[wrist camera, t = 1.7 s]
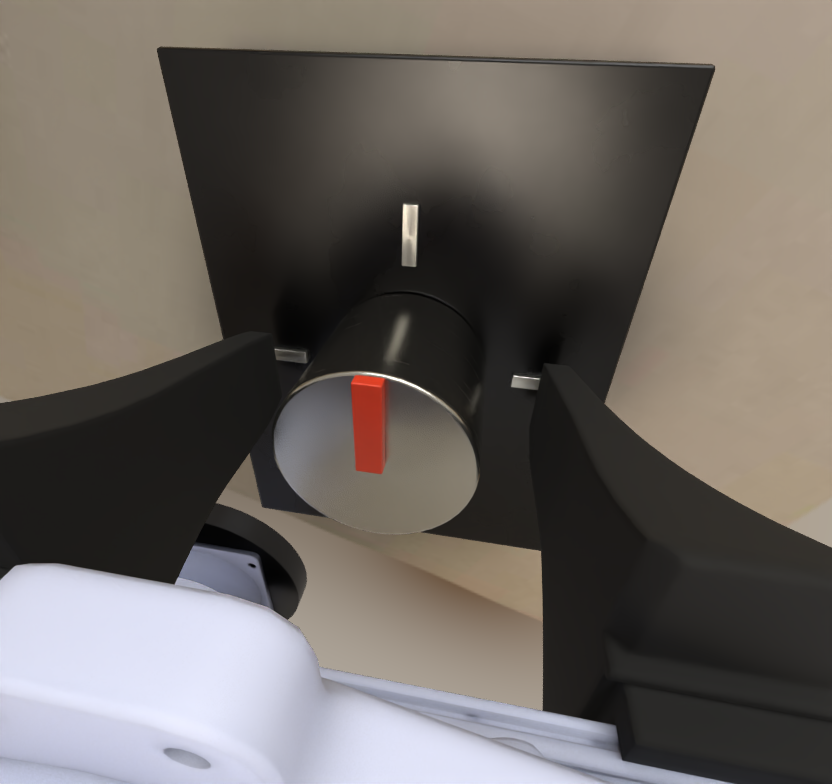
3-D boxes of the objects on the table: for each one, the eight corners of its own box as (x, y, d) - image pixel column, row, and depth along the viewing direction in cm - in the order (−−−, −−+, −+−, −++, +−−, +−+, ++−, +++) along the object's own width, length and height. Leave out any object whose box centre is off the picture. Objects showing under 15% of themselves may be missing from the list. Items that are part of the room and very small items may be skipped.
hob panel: (548, 492, 18) (555, 558, 16) (292, 456, 19) (259, 511, 17) (668, 72, 10) (723, 63, 8) (227, 57, 12) (149, 45, 9)
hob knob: (476, 438, 13) (467, 560, 10) (335, 420, 14) (279, 530, 10) (496, 300, 11) (493, 397, 7) (324, 284, 11) (245, 368, 8)
